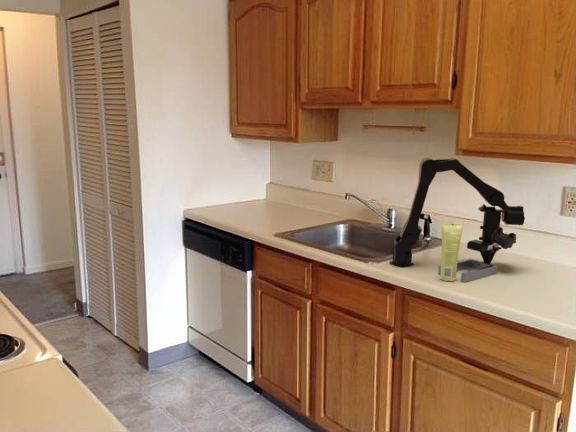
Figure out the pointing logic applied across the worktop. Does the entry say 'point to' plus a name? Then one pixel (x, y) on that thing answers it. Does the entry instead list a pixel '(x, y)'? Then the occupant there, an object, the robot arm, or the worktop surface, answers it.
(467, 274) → the u collar
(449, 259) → the tube
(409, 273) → the worktop surface
